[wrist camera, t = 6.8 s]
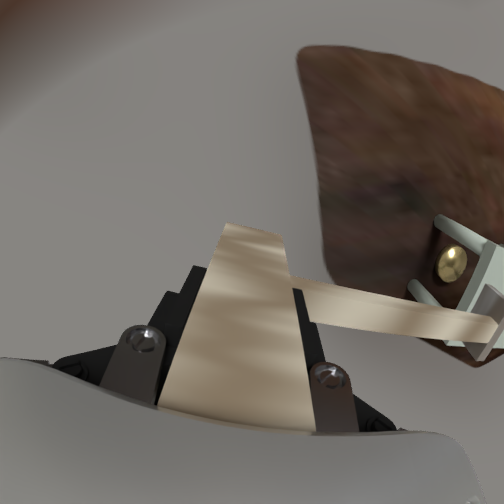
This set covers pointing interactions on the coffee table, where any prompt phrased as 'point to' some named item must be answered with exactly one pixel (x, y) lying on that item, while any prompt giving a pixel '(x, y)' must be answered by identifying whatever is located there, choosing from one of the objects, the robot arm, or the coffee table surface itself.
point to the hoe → (288, 333)
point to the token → (450, 262)
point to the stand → (487, 271)
